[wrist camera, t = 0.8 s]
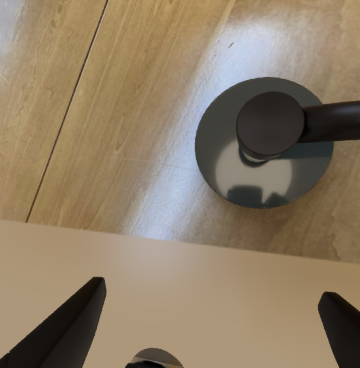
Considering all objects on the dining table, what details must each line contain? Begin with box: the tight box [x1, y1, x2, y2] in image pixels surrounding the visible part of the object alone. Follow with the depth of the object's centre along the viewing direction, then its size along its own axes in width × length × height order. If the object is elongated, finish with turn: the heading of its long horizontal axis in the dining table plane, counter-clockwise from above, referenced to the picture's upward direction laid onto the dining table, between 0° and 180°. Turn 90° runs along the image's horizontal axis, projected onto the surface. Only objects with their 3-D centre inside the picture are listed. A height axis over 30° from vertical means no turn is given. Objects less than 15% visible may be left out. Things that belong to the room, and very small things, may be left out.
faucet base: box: [195, 77, 334, 209], centre depth 19 cm, size 12×12×6 cm
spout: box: [236, 91, 360, 160], centre depth 13 cm, size 13×4×4 cm, turn 92°
